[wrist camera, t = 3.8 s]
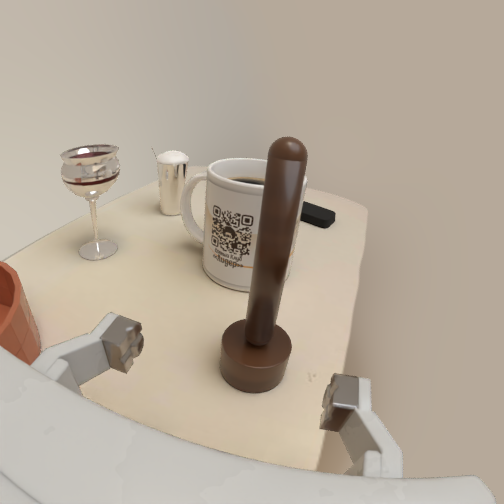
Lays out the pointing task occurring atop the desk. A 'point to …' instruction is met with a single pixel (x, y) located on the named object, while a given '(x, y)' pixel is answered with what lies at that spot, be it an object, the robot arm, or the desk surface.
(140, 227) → the desk surface
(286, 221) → the brown plunger
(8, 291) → the bowl
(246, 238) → the mug
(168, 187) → the milkshake
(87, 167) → the wineglass
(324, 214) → the remote control
